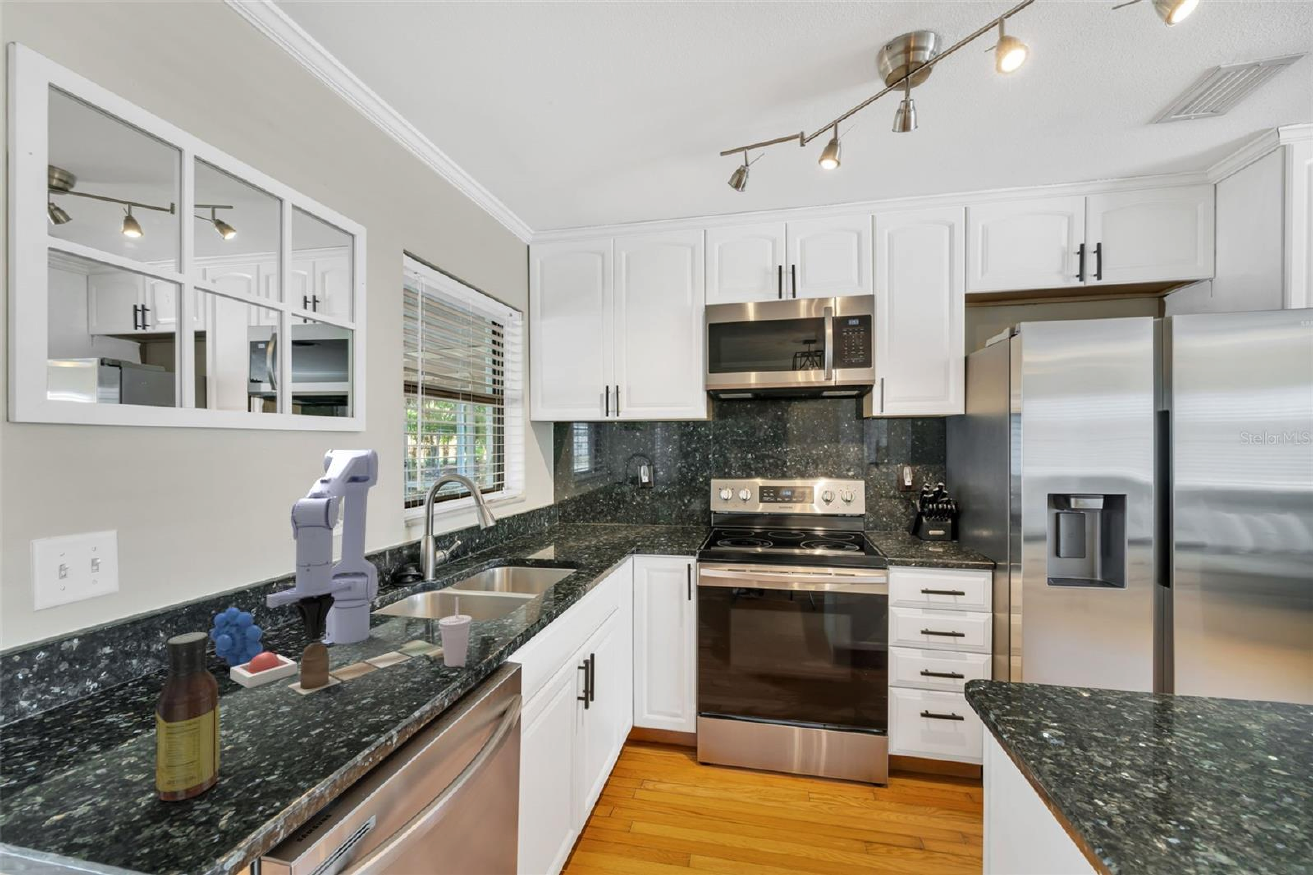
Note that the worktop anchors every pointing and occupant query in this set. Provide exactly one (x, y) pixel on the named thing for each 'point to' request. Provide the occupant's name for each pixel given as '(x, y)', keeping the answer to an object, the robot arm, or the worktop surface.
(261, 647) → the grapes
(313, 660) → the walnut pawn
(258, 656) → the dome button
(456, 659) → the smoothie
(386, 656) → the game board
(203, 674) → the sauce bottle
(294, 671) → the dome base
